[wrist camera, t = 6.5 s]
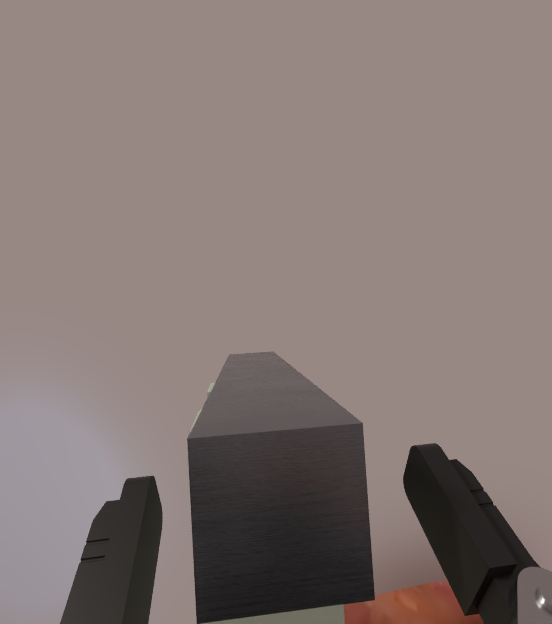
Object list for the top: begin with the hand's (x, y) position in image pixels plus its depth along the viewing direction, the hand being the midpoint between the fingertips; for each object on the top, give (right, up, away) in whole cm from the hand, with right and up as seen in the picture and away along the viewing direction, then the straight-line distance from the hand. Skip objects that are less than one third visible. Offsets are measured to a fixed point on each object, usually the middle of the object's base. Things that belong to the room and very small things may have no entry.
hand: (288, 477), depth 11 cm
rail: (-1, -2, +9) cm, 10 cm away
